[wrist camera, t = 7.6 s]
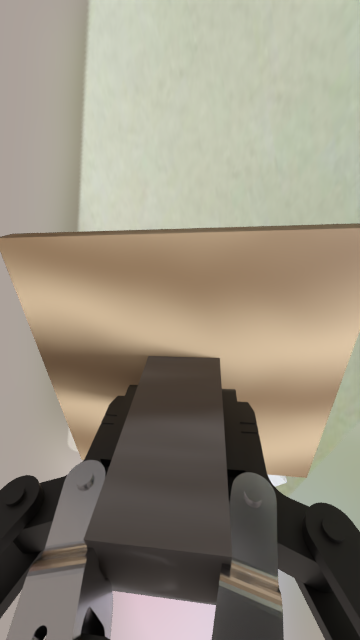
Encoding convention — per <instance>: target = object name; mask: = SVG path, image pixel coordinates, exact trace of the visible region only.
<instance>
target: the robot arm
mask: <svg viewBox="0 0 360 640" xmlns="http://www.w3.org/2000/svg"><path fill="white" fill-rule="evenodd" d="M137 387H138V385H129V387H128V389H127V392H126V394H125V396H117V397H116V398H115V399H114V400H113V401H112V402H111V403H110V404H109V406H108V409H107V411H106V413H105V416H104V417H103V420H102V422H101V425H100V426H99V428H98V431H97V433H96V435H95V437H94V440H93V442H92V444H91V446H90V448H89V451H88V453H87V455H86V457H85V459H84V461H83V462H81V463H80V464H78V465H76V466H75V467H74V468H73V469H72V470H71V471H70V472H69V474H68V475H66V476H64V477H61V478H57V479H53V480H50V481H46V482H42V483H39V482H38V480H37V479H36V478H35V477H34V476H30V475H26V476H21V477H18V478H16V479H14V480H12V481H11V482H9V483H8V484H7V485H6V486H4V487H3V488H2V489H1V490H0V618H1V616H2V615H3V614H4V613H5V611H6V610H7V609H8V607H9V606H10V605H11V603H12V602H13V601H14V599H15V598H16V596H17V595H18V594H19V593H20V591H21V590H22V592H21V595H20V598H19V601H18V604H17V607H16V610H15V613H14V617H13V620H12V623H11V626H10V629H9V632H8V635H7V639H6V640H43V639H44V637H45V636H46V635H47V636H46V639H45V640H110V636H111V625H112V611H113V594H112V584H111V582H110V580H109V578H104V576H103V574H102V572H101V570H100V568H99V564H98V556H97V554H96V552H95V550H94V548H90V547H87V545H86V543H85V542H84V540H83V539H84V537H85V534H86V531H87V528H88V525H89V522H90V520H91V517H92V514H93V511H94V508H95V505H96V503H97V500H98V497H99V494H100V491H101V488H102V486H103V483H104V480H105V477H106V474H107V472H108V469H109V466H110V463H111V460H112V457H113V455H114V452H115V449H116V446H117V443H118V440H119V438H120V435H121V432H122V429H123V426H124V423H125V421H126V418H127V415H128V412H129V409H130V406H131V404H132V401H133V398H134V395H135V392H136V389H137ZM222 400H223V416H224V432H225V448H226V464H227V480H228V495H229V511H230V527H231V543H232V563H231V565H230V564H224V563H222V566H221V572H220V580H219V587H218V595H217V603H216V611H215V619H214V626H213V635H212V640H284V639H283V609H282V598H281V592H280V590H279V585H278V569H280V570H281V571H283V572H285V573H286V574H288V575H290V576H292V577H294V578H295V580H296V582H297V584H298V586H299V588H300V590H301V592H302V594H303V596H304V598H305V600H306V602H307V604H308V606H309V608H310V610H311V612H312V614H313V616H314V618H315V620H316V622H317V624H318V626H319V628H320V630H321V632H322V634H323V636H324V638H325V640H360V532H359V530H358V529H357V528H356V526H355V525H354V524H353V522H352V521H351V520H350V519H349V518H348V516H347V515H345V514H344V513H343V512H342V511H341V510H339V509H338V508H336V507H334V506H332V505H330V504H327V503H316V504H313V505H311V506H310V507H309V506H306V505H304V504H302V503H299V502H297V501H295V500H292V499H290V498H288V497H286V496H285V495H283V494H282V493H281V492H279V491H278V490H277V489H276V488H275V487H274V485H273V484H272V483H271V481H270V479H269V477H268V475H267V471H266V466H265V461H264V456H263V451H262V446H261V441H260V436H259V431H258V426H257V421H256V416H255V412H254V410H253V409H252V407H251V406H250V404H249V403H248V402H237V396H236V390H235V389H222Z"/></svg>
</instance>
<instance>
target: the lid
mask: <svg viewBox="0 0 360 640" xmlns="http://www.w3.org/2000/svg"><path fill="white" fill-rule="evenodd" d="M0 252H1V254H2V257H3V259H4V261H5V264H6V267H7V270H8V272H9V275H10V277H11V280H12V282H13V285H14V287H15V290H16V293H17V295H18V298H19V300H20V303H21V306H22V308H23V311H24V313H25V315H26V318H27V321H28V323H29V326H30V329H31V331H32V334H33V336H34V339H35V341H36V343H37V346H38V349H39V351H40V354H41V357H42V359H43V362H44V364H45V367H46V369H47V372H48V375H49V377H50V380H51V382H52V385H53V387H54V390H55V392H56V395H57V398H58V400H59V403H60V405H61V408H62V410H63V413H64V415H65V418H66V420H67V423H68V426H69V428H70V431H71V433H72V436H73V439H74V441H75V444H76V446H77V449H78V451H79V454H80V456H81V459H82V460H84V459H85V457H86V455H87V453H88V451H89V448H90V446H91V444H92V442H93V440H94V437H95V435H96V433H97V431H98V428H99V426H100V425H101V422H102V420H103V417H104V416H105V413H106V411H107V409H108V406H109V404H110V403H111V402H112V401H113V400H114V399H115V398H116V397H117V396H125V394H126V392H127V389H128V387H129V385H138V387H137V389H136V392H135V395H134V398H133V401H132V404H131V406H130V409H129V412H128V415H127V418H126V421H125V423H124V426H123V429H122V432H121V435H120V438H119V440H118V443H117V446H116V449H115V452H114V455H113V457H112V460H111V463H110V466H109V469H108V472H107V474H106V477H105V480H104V483H103V486H102V488H101V491H100V494H99V497H98V500H97V503H96V505H95V508H94V511H93V514H92V517H91V520H90V522H89V525H88V528H87V531H86V534H85V537H84V539H83V540H84V542H85V543H86V545H87V547H90V548H94V550H95V552H96V554H97V556H98V564H99V568H100V570H101V572H102V574H103V576H104V578H109V580H110V582H111V584H112V591H119V592H126V593H134V594H141V595H148V596H154V597H163V598H169V599H176V600H183V601H190V602H198V603H205V604H212V605H216V603H217V595H218V587H219V580H220V572H221V566H222V563H224V564H230V565H231V563H232V543H231V527H230V511H229V495H228V480H227V464H226V448H225V432H224V416H223V400H222V389H235V390H236V396H237V402H248V403H249V404H250V406H251V407H252V409H253V410H254V412H255V416H256V421H257V426H258V431H259V436H260V441H261V446H262V451H263V456H264V461H265V466H266V471H267V475H280V476H292V477H305V478H307V475H308V472H309V470H310V467H311V464H312V461H313V459H314V456H315V453H316V450H317V447H318V445H319V442H320V439H321V436H322V434H323V431H324V428H325V425H326V423H327V420H328V417H329V414H330V411H331V409H332V406H333V403H334V400H335V398H336V395H337V392H338V389H339V387H340V384H341V381H342V378H343V375H344V373H345V370H346V367H347V364H348V362H349V359H350V356H351V353H352V351H353V348H354V345H355V342H356V339H357V337H358V334H359V331H360V224H326V225H292V226H259V227H225V228H192V229H158V230H124V231H91V232H57V233H24V234H10V235H6V236H2V237H0Z"/></svg>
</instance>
